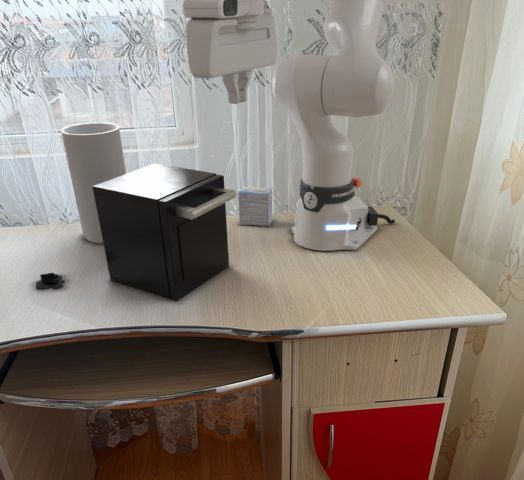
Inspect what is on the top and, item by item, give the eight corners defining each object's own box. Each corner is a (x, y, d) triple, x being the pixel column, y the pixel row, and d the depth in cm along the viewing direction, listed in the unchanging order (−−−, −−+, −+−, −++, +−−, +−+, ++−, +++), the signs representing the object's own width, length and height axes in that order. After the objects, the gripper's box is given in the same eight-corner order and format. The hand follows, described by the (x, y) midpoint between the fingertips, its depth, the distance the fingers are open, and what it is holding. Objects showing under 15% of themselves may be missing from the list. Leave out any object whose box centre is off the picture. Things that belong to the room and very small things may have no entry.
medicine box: (272, 220, 140) (272, 187, 135) (269, 227, 137) (268, 193, 132) (243, 218, 142) (242, 186, 137) (239, 225, 138) (237, 191, 133)
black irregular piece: (33, 270, 112) (61, 265, 114) (36, 280, 114) (63, 275, 115) (34, 282, 108) (63, 277, 109) (37, 292, 109) (65, 287, 111)
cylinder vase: (82, 247, 128) (59, 136, 114) (84, 228, 138) (63, 124, 124) (136, 241, 130) (119, 132, 116) (134, 223, 140) (118, 121, 126)
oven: (222, 265, 118) (216, 173, 107) (170, 299, 106) (157, 199, 94) (165, 250, 125) (155, 163, 114) (110, 281, 113) (92, 186, 101)
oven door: (245, 270, 116) (242, 178, 105) (194, 306, 103) (184, 206, 92) (223, 265, 118) (217, 174, 107) (170, 299, 106) (158, 200, 94)
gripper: (253, -1, 89) (255, 91, 96) (174, 3, 74) (184, 111, 82) (287, -1, 86) (286, 94, 94) (212, 3, 72) (218, 115, 79)
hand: (238, 102), depth 88 cm, fingers closed
